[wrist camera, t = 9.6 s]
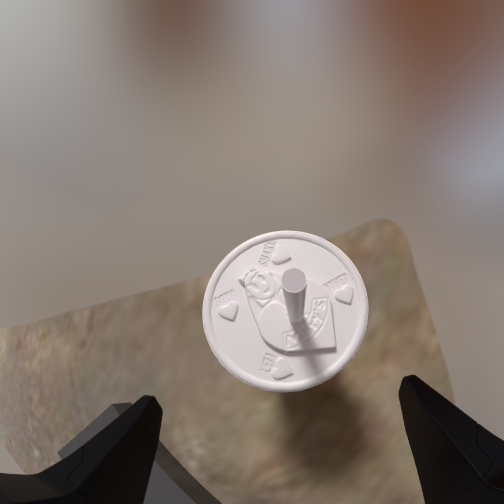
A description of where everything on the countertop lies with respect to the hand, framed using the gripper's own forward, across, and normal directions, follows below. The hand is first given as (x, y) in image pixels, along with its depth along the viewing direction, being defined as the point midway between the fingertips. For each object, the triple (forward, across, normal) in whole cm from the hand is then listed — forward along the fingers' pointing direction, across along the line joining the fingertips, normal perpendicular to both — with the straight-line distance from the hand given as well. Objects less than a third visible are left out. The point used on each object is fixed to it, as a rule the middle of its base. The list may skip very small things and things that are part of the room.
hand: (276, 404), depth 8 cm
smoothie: (+10, 0, +5) cm, 11 cm away
